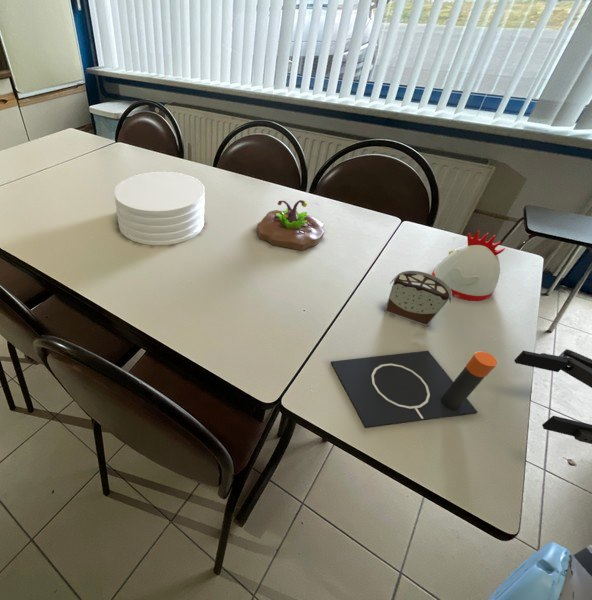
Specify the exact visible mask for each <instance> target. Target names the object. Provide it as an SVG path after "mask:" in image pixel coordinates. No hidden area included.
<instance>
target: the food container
mask: <svg viewBox="0 0 592 600" xmlns="http://www.w3.org/2000/svg"><path fill="white" fill-rule="evenodd" d="M391 284H392V286H391V289H390V293H389V296H388V299H387V302H386V306H385V308H384V313H388V314H390V315H394V316H396V317H400V318H402V319H405V320H407V321H410V322H414V323H415V324H416V323H417V324H419V325H423V326H425V327H428V326H429V324H430V323H431V322H432V321H433V320H434V319H435V317H436V316H437V315H438V313H439V312H440V311H441V310H442V309H443V307H444V306H445V305H446V304H447V303H448V301H449V304H451V302H452V299H453V296H452V291H451V289H450V287H449V286H448V285H447V284H446V283H445V282H444V281H442V280H441V279H439V278H437V277H435V276H433V275H432V273H429V272H428V273H427V272H424V271H419V270H405V271H402V272H399V273H397V275H395V276H394V277H393V278H392V280H391V281H390V282H389V285H391Z"/></svg>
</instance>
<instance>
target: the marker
mask: <svg viewBox="0 0 592 600" xmlns="http://www.w3.org/2000/svg"><path fill="white" fill-rule="evenodd" d="M497 365H498V361H497V358H495V357H494V355H492V354H491V353H490V352H489V353H488V352H486V351H483V350H482V351H481V350H480V351H479V350H478V351H476V352H474V354H473V356H471V358H470V359H469V361H468V362H466V365H465V366H464V368H463V369H462V371H460V373H459V374H458V376H456V378H455V379H454V381H453V383H452V384H451V386H450V387H449V388H448V390H447V391H446V392H445V393H444V395H443V396H442V397H441V402H442V404H443V405H444V406H445V407H447V408H449V409H452V410H455V409H457V408H458V407H459V406H460V405H461V404H462V403H463V402H464V400H465V399H466V398H467V399H468V397H469V396H470V395H471V394H472V393H473V391H474V390H475V389H476V388H477V387H478V386H479V384H480V383H481V382H482V381H483V380H484V379H485V378H486V377H487V376H488V375H489V374H490V373H491V372H492V371H493V370H494V369H495V368H496V366H497Z"/></svg>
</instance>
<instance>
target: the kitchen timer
mask: <svg viewBox="0 0 592 600" xmlns="http://www.w3.org/2000/svg"><path fill="white" fill-rule="evenodd" d="M496 235H497V234H494V235H493V236H492V237H490V239H488V241H487V238H488V236H489V232H487V233H486V234H484V235H483V236H482V237H481V238H479V237H480V229H478V230H477V231H476V233H475V234H474V236H472V234H471V232H468V233H467V239H466V240H467V244H465V245H462V246H459V247H457V248H456V249H453V250H450V251H448V253H447V255H446V256H444V257H443V259H441V261H439V263H438V264H437V265H436V266H435V268H434V269H433V270H432V272H431V275H433V276H435V277H437V278H439V279H441V280H442V281H444V282H445V283H446V284H447V285H448V286H449V287H450V289H451V291H452V297H454V298H456V299H460V300H464V301H468V302H469V301H470V302H480V301H485V300H487V299H489V298H490V297H491V296H492V294H493V293H494V292H495V290H496V288H497V285H498V283H499V279H500V275H501V263H500V259H499V254H501V253H503V252H504V251H505V249H506V248H505V247H503V248H501V249H499V250H496V248H497V247H498V246H500V245H501V243H502V241H498V242H496V243H494V241H495V239H496Z"/></svg>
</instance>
